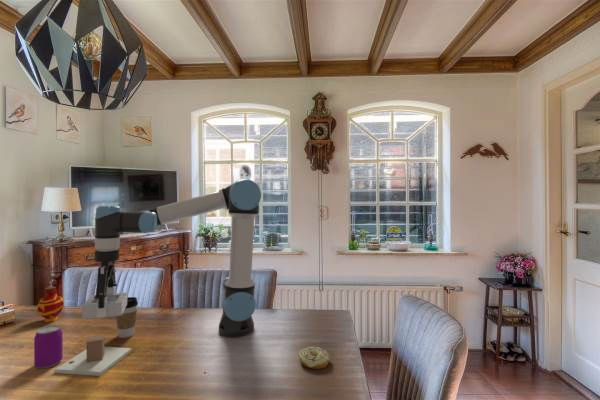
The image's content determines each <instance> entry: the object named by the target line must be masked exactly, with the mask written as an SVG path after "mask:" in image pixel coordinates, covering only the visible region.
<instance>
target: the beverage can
mask: <svg viewBox="0 0 600 400" xmlns="http://www.w3.org/2000/svg"><path fill="white" fill-rule="evenodd" d="M63 334H64V333H63V331H62V328H61V327H60V325H56V324H55V325H47V326H44V327H41V328H38V330H37V331H36V333H35V335H34V338H33V341H34V343H33V350H34V353H33V354H34V355H33V356H34V359H33V361H34V367H36V368H38V369H47V368H52V367H54V366H56V365H58V364H59V363H60V362H61V361H62V360H63V359H64V358H63V356H64V353H63V352H64V351H63V350H64V349H63V347H64V345H63V342H64V341H63V340H64V339H63Z"/></svg>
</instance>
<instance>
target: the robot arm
mask: <svg viewBox="0 0 600 400" xmlns="http://www.w3.org/2000/svg"><path fill="white" fill-rule="evenodd" d="M261 199H262V191H261V188H260V186H259V185H258V184H257V183H256V182H255V181H254V180H251V179H247V178H241V179H238V180H236V181H235V182H233V183H232V184H230V185H227V186H224V187H220V188H219V190H218V191H215V192H214V191H213V192H210V193H207V194H203V195H199V196H198V195H197V196H195V197H191V198H188V199H184V200H180V201H179V200H178V201H175V202H172V203H168V204H164V205H160V206H157V207H152V208H148V209H144V210H141V211H122V209H121V207H120V206H119V205H100V206H99V205H98V206H97V207H96V209H95V217H94V221H95V223H94V230H95V231H94V234H95V235H94V240H93V241H92V243H93V244H94V249H95V251H94V257H93V260H94V262H97V263H101V264H100V266H99V267H98V269H97V279H96V280H97V282H96V290H95V295H96V296H94V299H97V319H98V318H107V317H106V316H107V297H106V294H115V287H118V286H117V285H118V284H117V281H116V267H115V266H116V265H115V264H116V263H115V262H116V261H118V260H119V259H120V249H119V248H120V245H121V244H120V243H121V241H120V240H121V237H120V236H121V233H123V234H124V233H132V234H133V233H136V234H137V233H139V234H140V233H141V234H142V233H143V234H147V233H154V232H156V230H157V227H160V226H163V225H167V224H171V223H174V222H178V221H182V220H185V219H189V218H193V217H196V216H201V215H203V214H208V213H212V212H214V211H219V210H222V209H223V210H226V211H228V214H229V216H230V217H231V234H230V236H231V237H230V252H229V253H230V254H229V255H230V258H229V274H228V275H229V276H226V277H224V278H223V280H222V284H221V285H222V313H221V314H222V315H221V318H220V319H219V324H218V333H219V335H221V336H224V337H228V338H238V337H244V336H247V335H249V334H251V333H252V332H254V329H255V322H254V319H253V316H252V315H253V314H254V312H255V310H256V305H257V304H256V303H257V302H256V299H255V291H256V290H255V288H256V287H255V286H256V283H255V281H254V280H253V279H252V272H253V255H254V254H253V252H254V234H255V233H254V232H255V219H256V218H257V216H259V211H260V209H259V208H260V203H261Z"/></svg>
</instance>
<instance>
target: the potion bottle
mask: <svg viewBox="0 0 600 400" xmlns="http://www.w3.org/2000/svg"><path fill="white" fill-rule="evenodd" d="M56 288H57V286H55V285H54V286H48V287H45V291H44V293H45V294H46V296H45V297H42V298H41V299H40V300H39V301H38V304H37V305H36V307H37V308H36V310H37V315H38V316H41V317H42V318H44V321H43V322H44V323H50V322H55V321H57V320H58V317H57V316H58V315H59V314H60V313H61V312H62V311H63V308H64V307H65V300H64V298H63V297H62V296H61V295H58V294H57V293H56V292H57V289H56Z"/></svg>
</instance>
